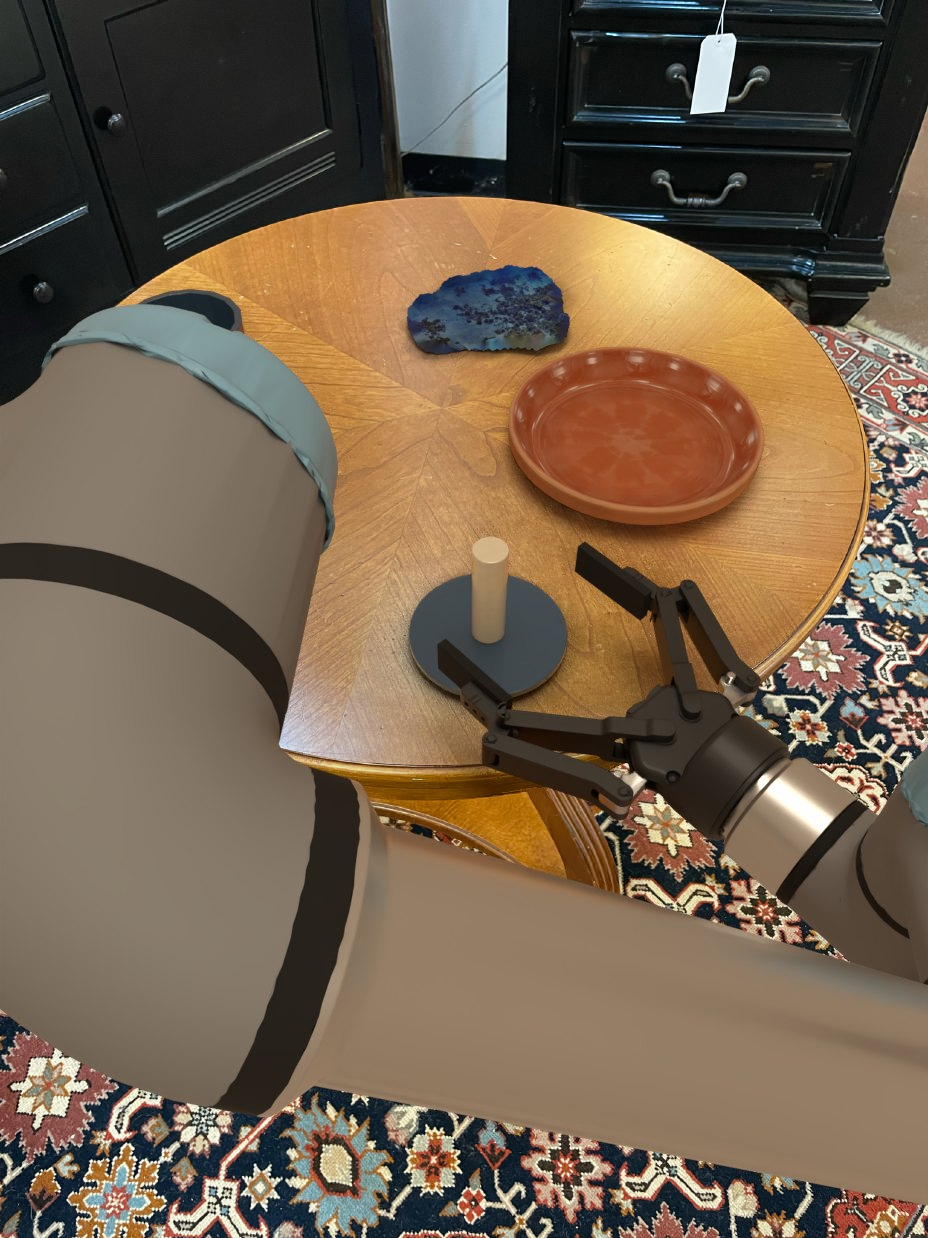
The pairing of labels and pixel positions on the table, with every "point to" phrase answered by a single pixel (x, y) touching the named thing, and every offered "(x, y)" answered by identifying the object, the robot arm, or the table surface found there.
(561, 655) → the lid
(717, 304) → the table surface
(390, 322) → the table surface
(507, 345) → the rock
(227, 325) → the pot
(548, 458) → the saucer
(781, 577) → the table surface
